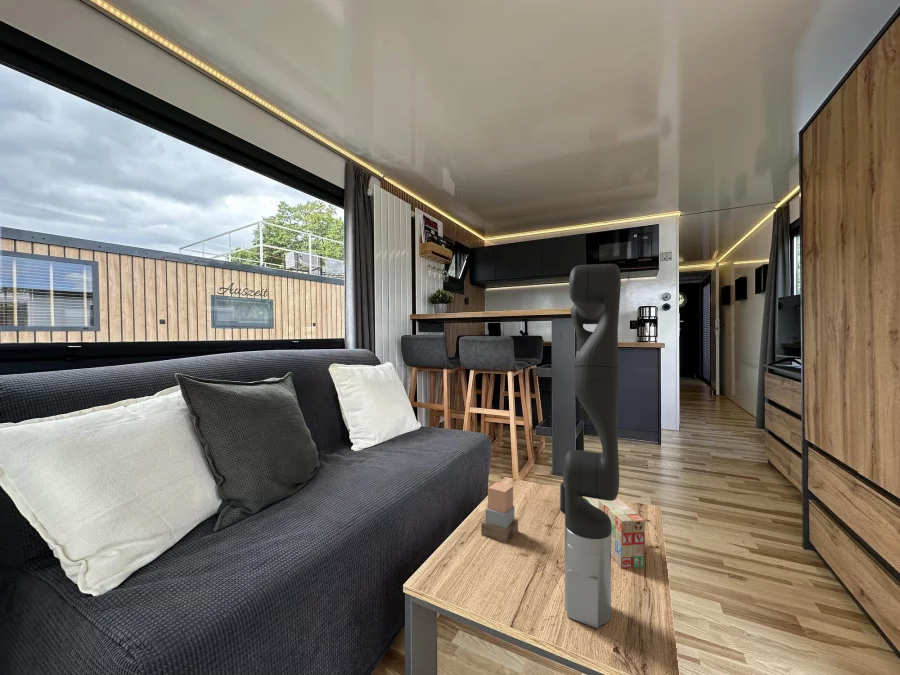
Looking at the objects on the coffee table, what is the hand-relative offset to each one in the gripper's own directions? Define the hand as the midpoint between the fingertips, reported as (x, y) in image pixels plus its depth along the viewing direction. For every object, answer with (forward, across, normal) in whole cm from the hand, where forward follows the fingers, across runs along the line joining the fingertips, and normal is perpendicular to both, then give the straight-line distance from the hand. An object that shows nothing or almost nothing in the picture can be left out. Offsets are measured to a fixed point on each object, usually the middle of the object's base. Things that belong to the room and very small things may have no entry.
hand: (588, 418), depth 116 cm
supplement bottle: (+33, +7, +7) cm, 35 cm away
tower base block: (+34, -19, +21) cm, 44 cm away
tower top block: (+30, -19, +21) cm, 41 cm away
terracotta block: (+26, -19, +21) cm, 38 cm away
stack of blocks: (+34, -8, -8) cm, 35 cm away
